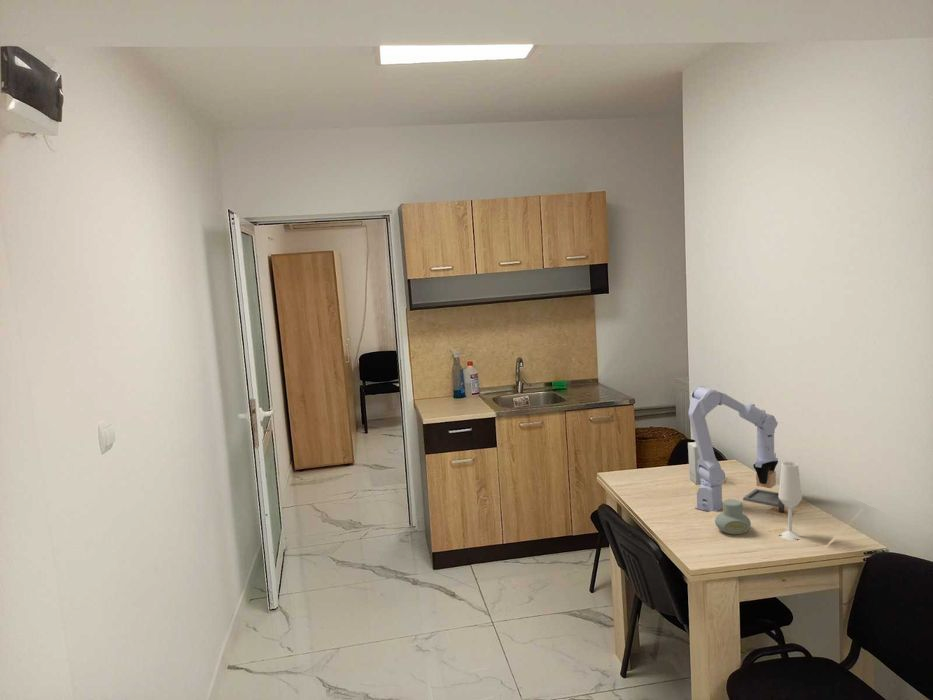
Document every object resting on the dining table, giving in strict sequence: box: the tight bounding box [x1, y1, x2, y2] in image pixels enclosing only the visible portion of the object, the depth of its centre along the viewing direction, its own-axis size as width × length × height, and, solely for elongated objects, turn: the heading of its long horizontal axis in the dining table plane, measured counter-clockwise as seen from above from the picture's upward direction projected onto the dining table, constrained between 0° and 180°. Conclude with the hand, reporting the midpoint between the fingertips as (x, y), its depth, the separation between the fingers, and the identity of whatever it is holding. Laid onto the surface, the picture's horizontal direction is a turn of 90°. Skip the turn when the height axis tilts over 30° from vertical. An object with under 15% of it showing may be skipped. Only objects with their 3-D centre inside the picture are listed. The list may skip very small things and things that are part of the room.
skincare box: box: [687, 441, 701, 485], centre depth 269 cm, size 8×7×16 cm
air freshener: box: [714, 498, 751, 536], centre depth 219 cm, size 11×8×10 cm
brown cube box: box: [755, 470, 777, 489], centre depth 244 cm, size 5×6×5 cm
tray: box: [742, 488, 780, 507], centre depth 245 cm, size 12×12×2 cm
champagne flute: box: [778, 461, 803, 542], centre depth 211 cm, size 7×7×24 cm
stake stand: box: [765, 501, 798, 519], centre depth 232 cm, size 8×8×4 cm
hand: (765, 481), depth 244 cm, fingers closed on brown cube box, 5 cm apart
